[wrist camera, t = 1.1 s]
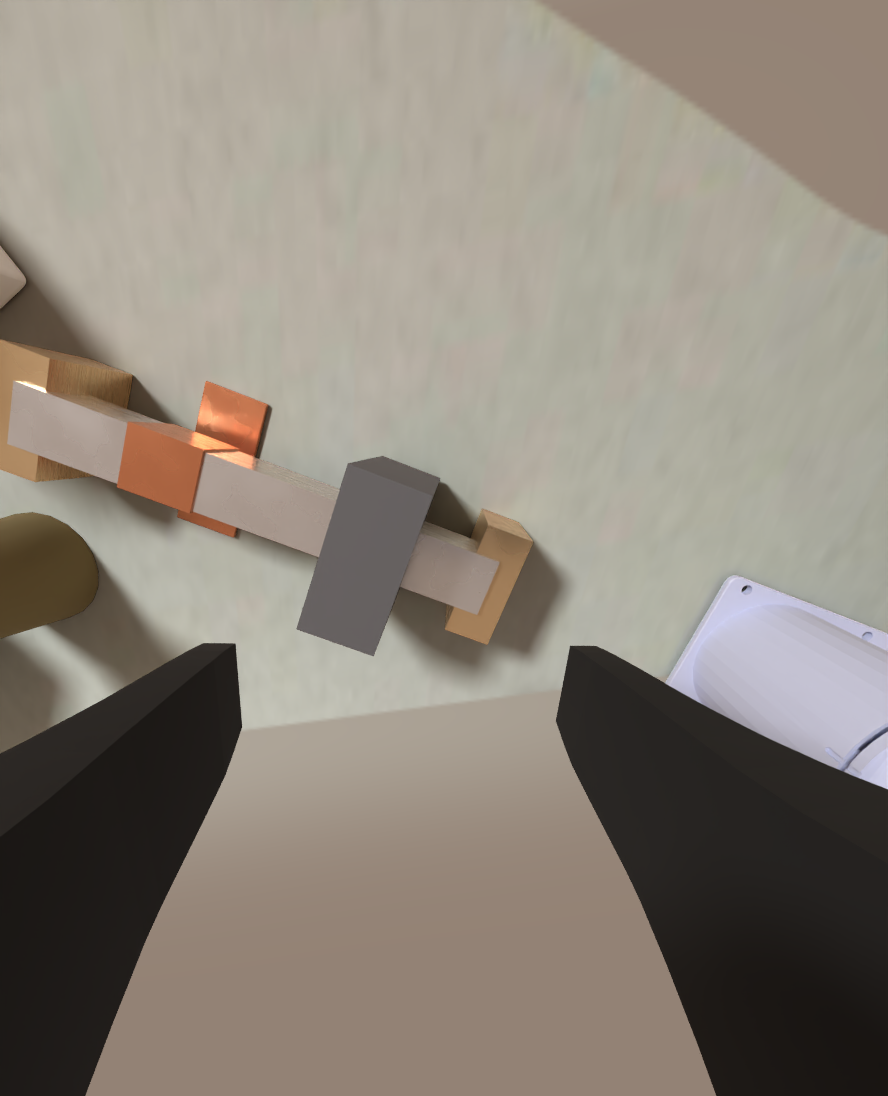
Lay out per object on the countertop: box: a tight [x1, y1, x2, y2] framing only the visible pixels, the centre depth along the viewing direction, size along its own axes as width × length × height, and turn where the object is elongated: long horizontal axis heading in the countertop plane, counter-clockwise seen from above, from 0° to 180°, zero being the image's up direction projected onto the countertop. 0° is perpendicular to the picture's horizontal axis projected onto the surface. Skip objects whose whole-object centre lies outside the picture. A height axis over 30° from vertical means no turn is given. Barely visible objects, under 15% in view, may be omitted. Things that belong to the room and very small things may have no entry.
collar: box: [297, 456, 440, 656], centre depth 18 cm, size 3×6×7 cm, turn 159°
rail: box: [0, 339, 533, 645], centre depth 19 cm, size 22×7×4 cm, turn 69°
